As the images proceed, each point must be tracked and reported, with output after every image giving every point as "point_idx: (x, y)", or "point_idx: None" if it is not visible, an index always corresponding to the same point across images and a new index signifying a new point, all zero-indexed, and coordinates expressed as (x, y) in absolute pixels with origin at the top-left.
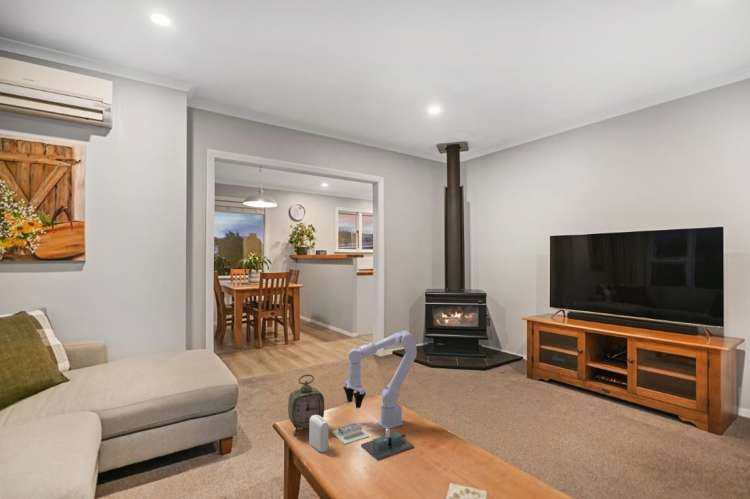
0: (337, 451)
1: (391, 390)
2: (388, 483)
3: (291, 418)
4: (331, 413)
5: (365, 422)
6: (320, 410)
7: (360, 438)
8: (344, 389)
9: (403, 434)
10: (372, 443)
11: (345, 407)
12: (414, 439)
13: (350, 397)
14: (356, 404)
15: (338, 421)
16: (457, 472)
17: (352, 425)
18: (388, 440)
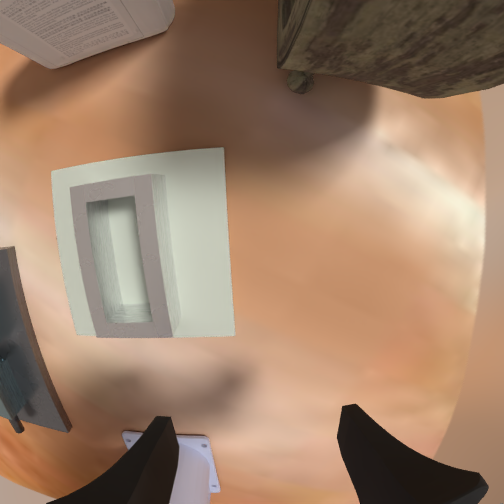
0: (24, 114)
1: None
2: None
3: None
4: (456, 270)
5: (246, 399)
6: (296, 2)
7: (65, 281)
8: (451, 479)
9: (13, 427)
10: (2, 301)
11: (457, 363)
12: (39, 442)
13: (355, 456)
14: (136, 441)
15: (352, 264)
16: None
17: (150, 297)
18: None
